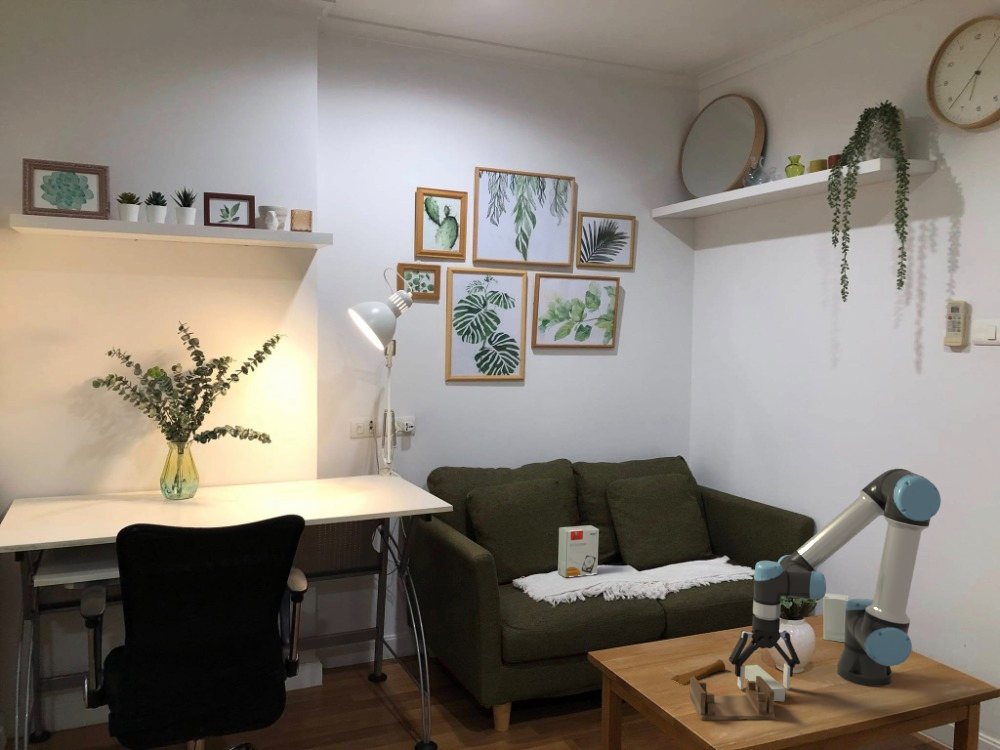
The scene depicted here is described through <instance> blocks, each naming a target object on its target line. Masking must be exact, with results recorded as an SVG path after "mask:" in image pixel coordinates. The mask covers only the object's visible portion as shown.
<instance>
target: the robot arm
mask: <svg viewBox="0 0 1000 750" xmlns="http://www.w3.org/2000/svg"><path fill="white" fill-rule="evenodd" d="M941 498H942V497H941V494H940V491H939V490H938V488H937V487H936V485H935V484H934V483H933V482H931V481H930V480H929V479H928V478H926V477H925V476H923V475H920V474H916V473H914V472H912V471H910V470H907V469H905V468H892V469H889V470H886V471H884V472H883V473H881V474H879V475H878V476H877V477H876V478H874V479H873V480H872V481H871V482H869V483H868V484H867V485H865V486H864V487H863V488H862V489H861V490H860V492H859V497H857V498H856V499H855V500H854V501H852V503H850V504H849V505H848V506H846V508H844V509H843V510H841V512H840V513H839V514H837V515H836V516H835V517H834V518H833V519H831V520H830V522H828V523H827V524H826V525H824V526H823V527H822V528H821V529H820V530H819V531H818V532H817V533H815V534H814V535H813V536H812V537H811V538H809V539H808V540H807V541H806V542H805V543H804V544H803V545H801V546H800V547H798V549H797V550H795V551H794V552H793V553H791V554H786V555H783V556H781V557H780V558H779V559H778V561H771V560H760V561H757V562H756V564H755V567H754V568H755V569H754V574H753V575H754V576H753V603H752V614H753V615H752V620H751V621H752V624H751V625H752V626H751V627H752V629H751V631H750V632H749V631H748V632H747V631H745V630H741V631H740V637H739V638H738V641H737V642H736V645H735V647H734V648H733V650H732V652H731V653H730V655H729V657H728V661H729V662H730V663H731V665H733V666H734V674H735V676H736V677H737V687H738V688H739V689H740V690H744V682H745V681H744V679H745V666H743V665H744V663H745V662H746V661H747V660H748V659H749V658H750V657H751V656H752V655H753V653H755V651H757V650H758V649H759V648H760V649H772V648H774V649H776V651H777V652H778V653H779V655H780V656H781V657H782V658H783V659H784V661H785V663H783V672H782V673H783V677H782V679H783V680H782V681H783V682H782V686H783V687H784V688H785V690H790V680H791V677H792V678H793V676H794V674H793V673H794V668H795V667H796V665H800V664H801V661H800V659H799V656H798V654H797V651H796V649H795V648H794V646H793V643H792V640H791V633H789V632H788V631H787V630H785V629H784V630H783V631H782V632H780V628H781V627H780V626H781V623H780V622H781V619H780V617H781V604H782V601H781V600H782V598H783V597H784V598H796V599H797V598H798V599H807V600H808V599H810V600H814V599H816V600H818V599H821V600H822V599H823V597H824V596H825V593H827V581H826V577H825V575H824V573H822V572H820V571H819V572H818V571H816V570H817V569H818V568H819V567H820V566H821V565H822V564H824V563H825V562H826V561H828V559H829V558H831V557H832V556H833V555H834V554H835V553H836V552H838V551H839V550H840V549H841V548H843V547H844V546H845V545H846V544H847V543H849V542H850V541H851V540H852V539H853V538H855V537H856V536H857V535H858V534H859V533H860V532H862V531H863V530H864V529H865V528H866V527H867V526H869V525H870V524H872V523H873V521H875V520H876V519H877V518H878V517H880V516H883V517H884V519H885V521H886V522H887V528H886V532H885V538H884V542H883V543H884V544H883V548H882V554H881V558H880V565H879V570H878V574H877V581H876V585H875V590H874V595H873V599H869V598H851V599H850V598H849V600H848V601H847V603H846V609H845V641H844V642H843V643H844V645H843V649H842V651H841V654H840V656H839V659H838V662H837V664H836V673H837V674H838V675H839V676H840V677H841V678H842V679H844V680H846V681H849V682H851V683H855V684H857V685H863V686H868V687H883V686H888V685H890V684H891V683H892V682H893V672H892V669H891V667H895V666H898V665H900V664H902V663H904V662H906V661H907V659H909V658H910V655H911V653H912V651H913V645H912V639H911V638H910V636H909V635H908V634H909V633H908V632H909V629H910V624H911V618H910V617H909V616H908V615H907V613H906V612H907V605H908V602H909V596H910V592H911V586H912V581H913V576H914V571H915V565H916V562H917V561H916V560H917V556H918V550H919V546H920V541H921V536H922V535H921V534H922V532H923V531H924V530H926V529H927V528H929V527H930V522H931V519H932V517H934V516H936V514H937V513H938V512H939V510H940V507H941V501H942V500H941ZM750 638H751V640H750ZM780 639H782V640H783V642H784V643H785V645H786V648H787V650H788V653H789V654H790V657H791V658H790V657H789V656H788V655H787V653H786V652H785V651H784V650H783V648H782V647H781V645H779V641H780ZM749 640H750V642H749V644H748V645H747V643H748V641H749Z"/></svg>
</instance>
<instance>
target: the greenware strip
mask: <svg viewBox="0 0 1000 750" xmlns="http://www.w3.org/2000/svg"><path fill="white" fill-rule="evenodd" d="M756 676H761V677H762V679H763V680H764V681H765V682H766V683H767V684H768V685H769V687H770V688H771V689H772V690H773V691H774V701H781V702H785V701H784V700H785V699H786V698H785V697H786V688H785V687H784V686H783V684H781V683H780V682H778V681H777V680H776V679H775V678H773V676H771V675H770V674H769V673H768V672H767V671H765V670H764V669H763V668H762V667H761V666H759V664H753V665H752V664H751V665H744V679H745V680H747V679H748V680H749V681H755V682H756ZM748 680H747V681H748Z"/></svg>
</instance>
